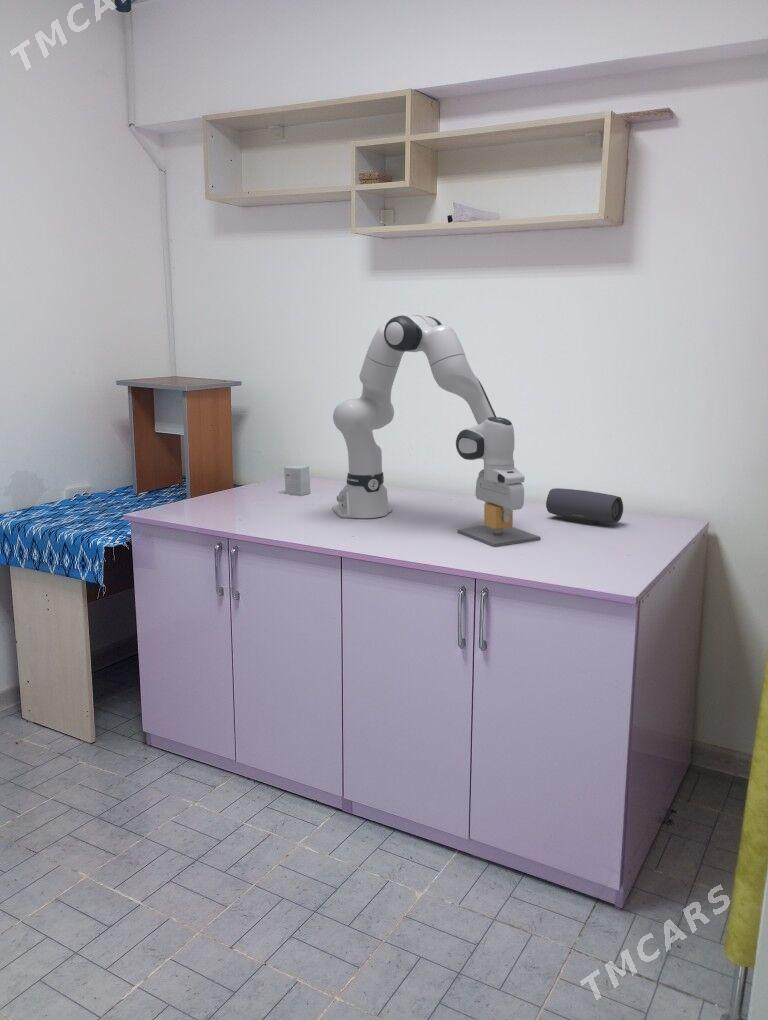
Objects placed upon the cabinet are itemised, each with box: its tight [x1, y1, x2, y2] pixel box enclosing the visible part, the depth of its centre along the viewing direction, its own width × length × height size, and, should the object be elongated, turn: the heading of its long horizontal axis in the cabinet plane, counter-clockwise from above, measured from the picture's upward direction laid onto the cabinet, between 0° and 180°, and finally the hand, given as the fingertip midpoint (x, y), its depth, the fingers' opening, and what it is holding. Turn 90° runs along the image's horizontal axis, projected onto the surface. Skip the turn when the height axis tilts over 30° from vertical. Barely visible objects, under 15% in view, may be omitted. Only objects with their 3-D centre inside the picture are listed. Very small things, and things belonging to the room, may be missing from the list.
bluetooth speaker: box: [545, 487, 624, 525], centre depth 263 cm, size 23×9×10 cm, turn 48°
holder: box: [456, 524, 541, 548], centre depth 247 cm, size 20×16×4 cm
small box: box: [283, 464, 311, 496], centre depth 315 cm, size 8×6×10 cm
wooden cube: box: [483, 503, 514, 529], centre depth 246 cm, size 6×6×6 cm
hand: (498, 519), depth 246 cm, fingers closed on wooden cube, 6 cm apart
